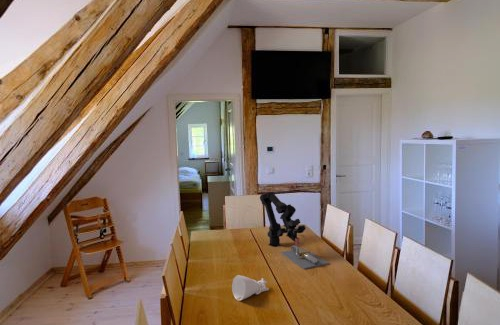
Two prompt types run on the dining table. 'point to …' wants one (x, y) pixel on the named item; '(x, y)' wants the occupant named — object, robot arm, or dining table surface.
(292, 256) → the mounting board
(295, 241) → the lever
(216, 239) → the dining table surface
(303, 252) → the valve
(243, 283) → the rocket engine
